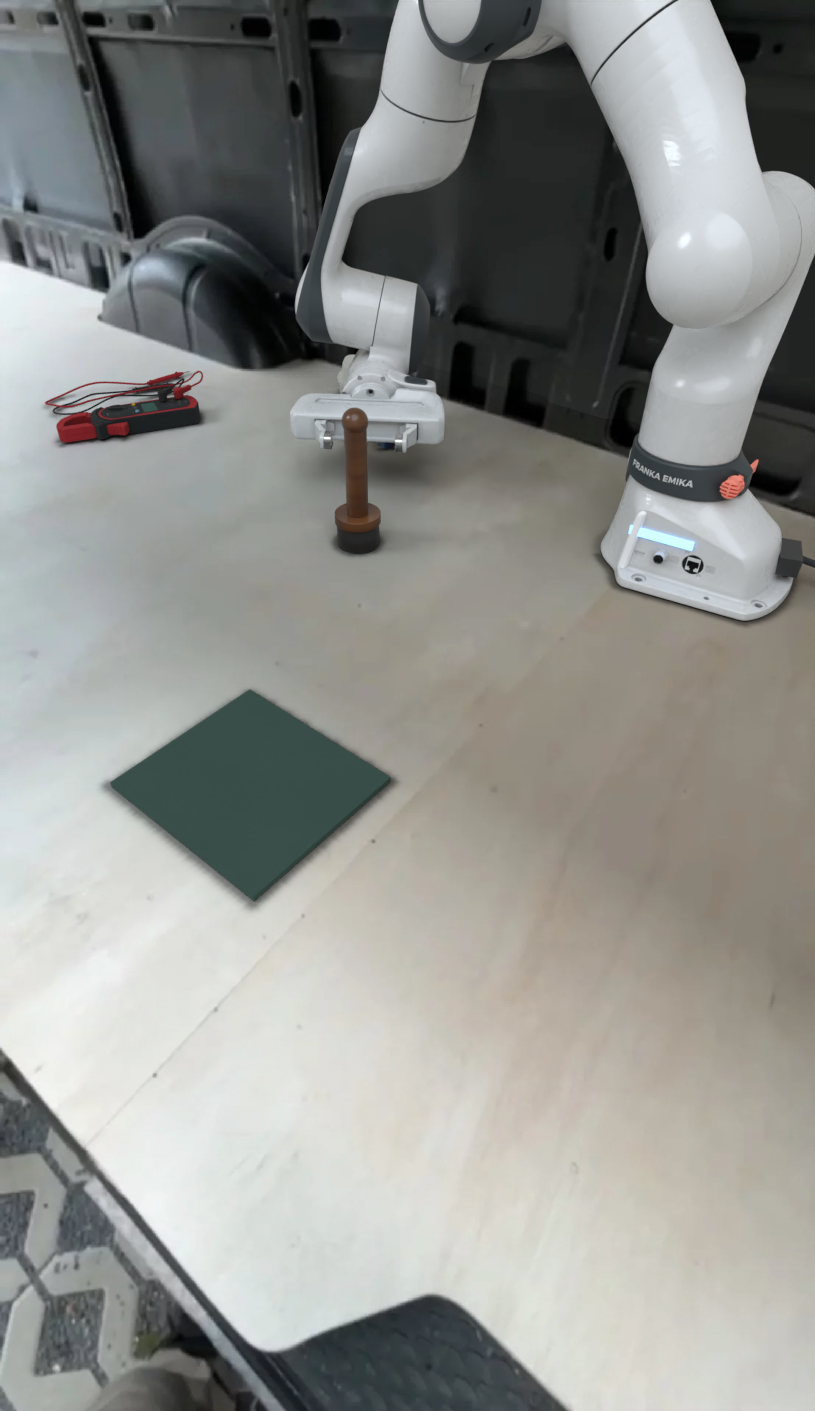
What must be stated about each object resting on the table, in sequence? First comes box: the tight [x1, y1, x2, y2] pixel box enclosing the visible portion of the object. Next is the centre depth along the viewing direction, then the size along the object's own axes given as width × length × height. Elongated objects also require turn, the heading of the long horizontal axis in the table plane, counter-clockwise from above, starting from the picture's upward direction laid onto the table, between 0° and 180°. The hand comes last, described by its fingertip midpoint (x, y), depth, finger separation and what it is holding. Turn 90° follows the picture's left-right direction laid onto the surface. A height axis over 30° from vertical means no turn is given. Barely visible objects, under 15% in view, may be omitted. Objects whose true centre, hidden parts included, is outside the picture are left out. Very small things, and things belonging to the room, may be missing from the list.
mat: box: [109, 689, 392, 902], centre depth 68 cm, size 18×16×1 cm
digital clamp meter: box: [44, 370, 204, 444], centre depth 127 cm, size 23×4×25 cm
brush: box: [334, 407, 382, 555], centre depth 93 cm, size 6×6×17 cm
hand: (362, 445), depth 99 cm, fingers open, 8 cm apart
